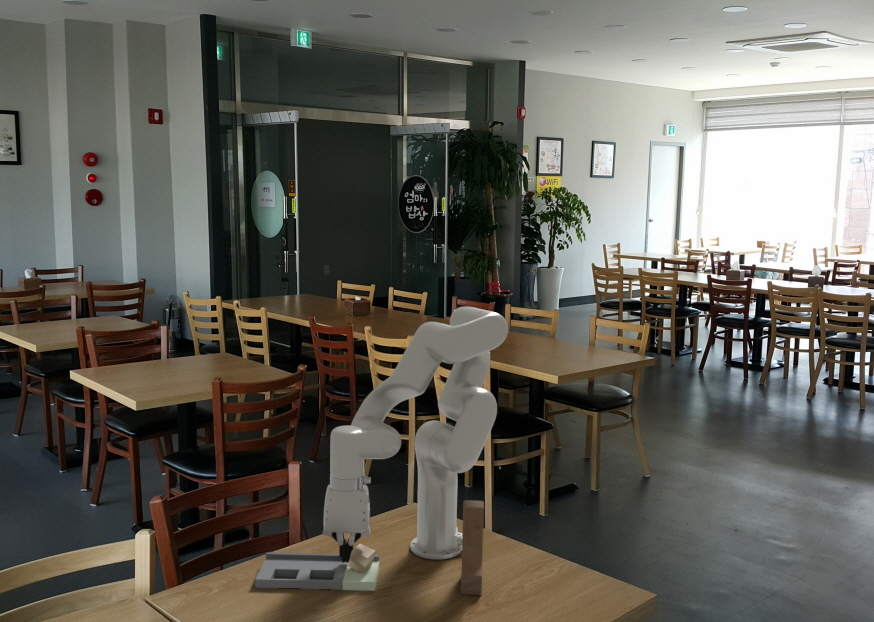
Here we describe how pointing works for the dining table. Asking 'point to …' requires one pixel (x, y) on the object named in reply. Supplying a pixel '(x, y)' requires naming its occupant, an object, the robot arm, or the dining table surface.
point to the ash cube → (361, 558)
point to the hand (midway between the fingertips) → (346, 559)
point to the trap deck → (314, 572)
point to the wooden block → (472, 547)
